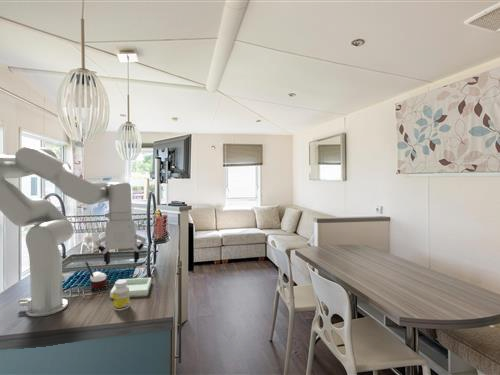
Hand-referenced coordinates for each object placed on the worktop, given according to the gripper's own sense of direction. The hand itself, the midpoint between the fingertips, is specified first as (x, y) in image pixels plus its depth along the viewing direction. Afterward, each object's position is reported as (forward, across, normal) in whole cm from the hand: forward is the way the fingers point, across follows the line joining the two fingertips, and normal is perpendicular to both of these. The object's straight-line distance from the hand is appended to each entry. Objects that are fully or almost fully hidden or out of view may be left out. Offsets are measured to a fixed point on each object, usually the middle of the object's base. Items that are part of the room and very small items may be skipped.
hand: (122, 262), depth 108 cm
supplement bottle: (+17, -1, 0) cm, 17 cm away
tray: (+17, 0, +16) cm, 23 cm away
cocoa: (+17, -15, +22) cm, 31 cm away
